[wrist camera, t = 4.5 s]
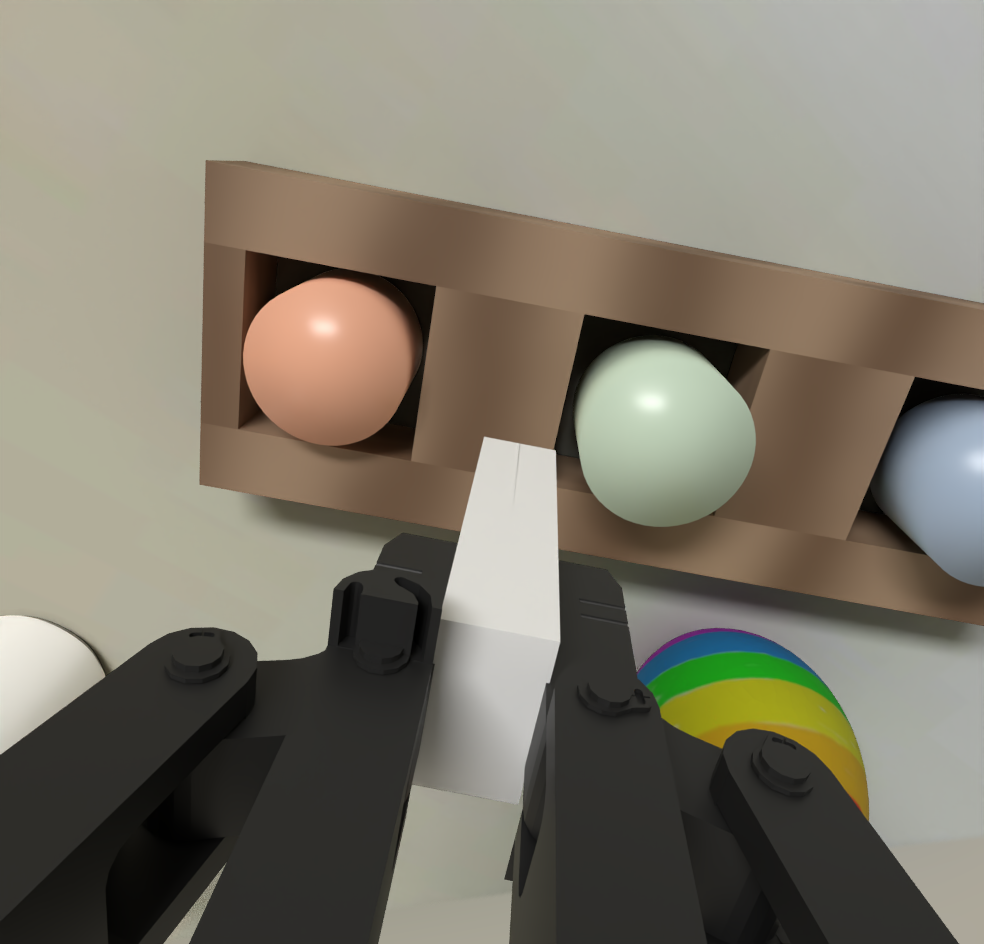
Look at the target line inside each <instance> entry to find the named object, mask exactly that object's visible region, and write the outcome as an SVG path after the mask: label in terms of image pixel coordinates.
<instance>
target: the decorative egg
mask: <svg viewBox="0 0 984 944" xmlns="http://www.w3.org/2000/svg"><path fill="white" fill-rule="evenodd" d="M637 678H638V679H639V680H640V681H641V682H642V683H643V684H644V685H645V686H646V687H647V688H648V689H649V690H650V691H651V692H652V693H653V695H654V697H655V699H656V701H657V703H658V705H659V708H660V713H661V718H663V719H664V720H666V721H667V722H668V723H670V724H671V725H672V726H674V727H676V728H678V729H680V730H682V731H684V732H685V733H687V734H689V735H692V736H694V737H696V738H699V739H701V740H703V741H706V742H708V743H710V744H713V745H715V746H717V747H720V748H723V746H724V743H725V741H726V739H727V738H729V737H730V736H731V735H732V734H734V733H735V732H736V731H740V730H746V729H753V728H754V729H760V730H766V731H772V732H775V733H778V734H780V735H783V736H785V737H787V738H790V739H792V740H795V741H796V742H798V743H799V744H801V745H802V746H804V747H805V748H807V749H808V750H810V751H811V752H813V753H814V754H815V755H816V756H817V757H818V758H819V759H820V760H821V761H822V762H823V763H824V764H825V765H826V766H827V767H828V768H829V769H830V770H831V771H832V773H833V774H834V775H835V777H836V778H837V779H838V781H839V782H840V784H841V785H842V786H843V788H844V789H845V790H846V792H847V793H848V794H849V796H850V797H851V798H852V800H853V801H854V802H855V804H856V805H857V807H858V808H859V809H860V811H861V812H862V813H863V815H864V816H865V817H866V819H867V820H868V821H869V799H868V789H867V781H866V774H865V768H864V764H863V761H862V757H861V753H860V749H859V746H858V743H857V741H856V738H855V735H854V732H853V730H852V728H851V725H850V723H849V721H848V719H847V717H846V715H845V713H844V712H843V710H842V708H841V706H840V704H839V703H838V701H837V700H836V698H835V697H834V695H833V694H832V692H831V691H830V689H829V688H828V687H827V686H826V684H825V683H824V682H823V681H822V680H821V679H820V677H819V676H818V675H817V674H816V673H815V672H814V671H813V670H812V669H811V668H810V667H809V666H808V665H807V664H805V663H804V662H803V661H802V660H801V659H800V658H798V657H797V656H796V655H794V654H793V653H792V652H790V651H789V650H787V649H785V648H784V647H782V646H780V645H779V644H777V643H775V642H773V641H771V640H769V639H767V638H764V637H762V636H760V635H756V634H753V633H750V632H746V631H742V630H735V629H725V628H711V629H702V630H697V631H693V632H689V633H686V634H684V635H681V636H679V637H677V638H675V639H673V640H671V641H669V642H668V643H666V644H665V645H663V646H662V647H661V648H659V649H658V650H657V651H656V652H655V653H654V654H653V655H651V656H650V657H649V658H648V660H647V661H646V662H645V663H644V664H643V665H642V667H641V668H640V669H639V671H638V672H637Z"/></svg>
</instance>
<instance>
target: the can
mask: <svg viewBox="0 0 984 944" xmlns="http://www.w3.org/2000/svg"><path fill="white" fill-rule="evenodd" d="M104 677H105V673H104V670H103V668H102V665H101V663H100V661H99V659H98V658H97V656H96V655H95V653H94V652H93V650H92V649H91V648H90V647H89V646H88V645H87V644H86V643H85V642H84V641H83V640H82V639H81V638H79V637H78V636H76V635H75V634H73V633H72V632H70V631H69V630H67V629H65V628H63V627H61V626H59V625H57V624H55V623H52V622H50V621H47V620H44V619H40V618H36V617H30V616H0V755H1V754H2V753H3V752H5V751H6V750H7V749H9V748H10V747H11V746H13V745H14V744H15V743H17V742H18V741H19V740H21V739H22V738H23V737H25V736H26V735H28V734H29V733H30V732H32V731H33V730H34V729H36V728H37V727H38V726H40V725H41V724H42V723H44V722H45V721H46V720H48V719H49V718H50V717H52V716H53V715H54V714H56V713H57V712H58V711H60V710H61V709H62V708H64V707H65V706H67V705H68V704H69V703H71V702H72V701H73V700H75V699H76V698H77V697H79V696H80V695H81V694H83V693H84V692H85V691H87V690H88V689H89V688H91V687H92V686H93V685H95V684H96V683H97V682H99V681H100V680H102V679H103V678H104Z"/></svg>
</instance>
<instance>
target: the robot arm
mask: <svg viewBox="0 0 984 944" xmlns="http://www.w3.org/2000/svg"><path fill="white" fill-rule="evenodd" d="M627 624H628V621H627V615H626V611H625V604H624V598H623V592H622V588H621V587H620V585H619V584H618V583H617V582H616V580H615V579H614V578H613V577H612V575H611V574H610V573H609V572H608V570H606V569H600V568H595V567H590V566H585V565H579V564H574V563H569V562H564V561H559V560H558V523H557V480H556V450H551V449H546V448H541V447H535V446H530V445H525V444H520V443H514V442H509V441H504V440H499V439H494V438H488V437H484V439H483V443H482V448H481V452H480V456H479V460H478V464H477V468H476V472H475V476H474V480H473V484H472V488H471V492H470V496H469V500H468V504H467V508H466V512H465V516H464V520H463V525H462V529H461V533H460V537H459V541H458V543H453V542H448V541H443V540H437V539H432V538H427V537H422V536H417V535H411V534H406V533H402V534H400V535H399V536H397V537H396V538H394V539H393V540H391V541H390V542H388V543H387V544H385V545H384V547H383V549H382V552H381V554H380V556H379V558H378V561H377V564H376V565H375V567H374V570H369V571H362V572H357V573H355V574H353V575H350V576H348V577H346V578H343V579H342V581H341V582H340V583H339V584H338V585H337V586H336V587H335V588H334V591H333V600H332V610H331V619H330V629H329V638H328V646H327V648H326V650H325V651H323V652H321V653H319V654H316V655H313V656H309V657H305V658H301V659H292V660H276V661H257V652H256V650H255V649H254V647H253V646H252V644H251V643H250V641H249V640H247V639H245V638H243V637H242V636H240V635H238V634H237V633H235V632H232V631H227V630H223V629H218V628H214V627H213V628H189V629H185V630H181V631H177V632H173V633H169V634H167V635H165V636H163V637H161V638H159V639H157V640H156V641H154V642H152V643H150V644H149V645H147V646H146V647H145V648H143V649H142V650H141V651H139V652H138V653H136V654H135V655H134V656H132V657H131V658H130V659H128V660H127V661H126V662H124V663H123V664H122V665H120V666H119V667H118V668H116V669H115V670H114V671H112V672H111V673H110V674H108V675H107V676H106V677H104V678H103V679H102V680H100V681H99V682H97V683H96V684H95V685H93V686H92V687H91V688H89V689H88V690H87V691H85V692H84V693H83V694H81V695H80V696H79V697H77V698H76V699H75V700H73V701H72V702H71V703H69V704H68V705H67V706H65V707H64V708H62V709H61V710H60V711H58V712H57V713H56V714H54V715H53V716H52V717H50V718H49V719H48V720H46V721H45V722H44V723H42V724H41V725H40V726H38V727H37V728H36V729H34V730H33V731H32V732H30V733H29V734H28V735H26V736H25V737H23V738H22V739H21V740H19V741H18V742H17V743H15V744H14V745H13V746H11V747H10V748H9V749H7V750H6V751H5V752H3V753H2V754H1V755H0V944H163V943H164V942H165V941H166V939H167V938H168V937H169V936H170V934H171V933H172V932H173V930H174V929H175V928H176V927H177V925H178V924H179V923H180V921H181V920H182V919H183V918H184V916H185V915H186V914H187V912H188V911H189V910H190V909H191V907H192V906H193V905H194V903H195V902H196V901H197V900H198V898H199V897H200V896H201V894H202V893H203V892H204V891H205V889H206V888H207V887H208V885H209V884H210V883H211V882H212V880H213V879H214V878H215V876H216V875H217V874H218V873H219V871H220V870H221V869H222V867H223V866H224V865H225V864H226V865H225V867H224V870H223V872H222V874H221V876H220V878H219V880H218V883H217V885H216V887H215V889H214V891H213V893H212V895H211V898H210V900H209V902H208V904H207V906H206V908H205V911H204V913H203V915H202V917H201V919H200V921H199V923H198V926H197V928H196V930H195V932H194V934H193V936H192V939H191V941H190V943H189V944H378V942H379V936H380V933H381V928H382V923H383V918H384V914H385V910H386V905H387V901H388V896H389V891H390V887H391V882H392V878H393V873H394V869H395V864H396V860H397V855H398V850H399V846H400V841H401V837H402V832H403V828H404V823H405V819H406V813H407V807H408V802H409V796H410V790H411V786H412V784H413V785H418V786H423V787H428V788H433V789H439V790H444V791H449V792H454V793H460V794H465V795H470V796H475V797H480V798H486V799H491V800H496V801H501V802H507V803H512V804H517V805H518V804H519V800H520V796H521V792H522V788H523V784H524V793H523V810H522V814H521V818H520V821H519V825H518V829H517V833H516V837H515V841H514V844H513V848H512V852H511V856H510V860H509V863H508V867H507V871H506V875H505V880H510V881H513V885H512V904H511V922H510V941H509V944H959V943H958V942H957V941H956V939H955V938H954V937H953V935H952V934H951V933H950V931H949V930H948V928H947V927H946V926H945V924H944V923H943V922H942V920H941V919H940V918H939V916H938V915H937V914H936V912H935V911H934V910H933V908H932V907H931V905H930V904H929V903H928V901H927V900H926V899H925V897H924V896H923V895H922V893H921V892H920V890H919V889H918V888H917V887H916V886H915V884H914V882H913V881H912V880H911V879H910V877H909V876H908V874H907V873H906V872H905V870H904V869H903V867H902V866H901V865H900V863H899V862H898V861H897V859H896V858H895V857H894V855H893V854H892V853H891V851H890V850H889V849H888V847H887V846H886V844H885V843H884V842H883V840H882V839H881V838H880V836H879V835H878V834H877V832H876V831H875V830H874V828H873V827H872V825H871V824H870V823H869V821H868V820H867V819H866V817H865V816H864V815H863V813H862V812H861V811H860V809H859V808H858V807H857V805H856V804H855V802H854V801H853V800H852V798H851V797H850V796H849V794H848V793H847V792H846V790H845V789H844V788H843V786H842V785H841V784H840V782H839V781H838V779H837V778H836V777H835V775H834V774H833V773H832V771H831V770H830V769H829V768H828V767H827V766H826V765H825V764H824V763H823V762H822V761H821V760H820V759H819V758H818V757H817V756H816V755H815V754H814V753H813V752H811V751H810V750H808V749H807V748H805V747H804V746H802V745H801V744H799V743H798V742H796V741H795V740H792V739H790V738H787V737H785V736H783V735H780V734H778V733H775V732H772V731H766V730H760V729H754V728H753V729H746V730H740V731H736V732H735V733H734V734H732V735H731V736H730V737H729V738H727V739H726V741H725V743H724V746H723V748H720V747H717V746H715V745H713V744H710V743H708V742H706V741H703V740H701V739H699V738H696V737H694V736H692V735H689V734H687V733H685V732H684V731H682V730H680V729H678V728H676V727H674V726H672V725H671V724H670V723H668V722H667V721H666V720H664V719H663V718H661V713H660V708H659V705H658V703H657V701H656V699H655V697H654V695H653V693H652V692H651V691H650V690H649V689H648V688H647V687H646V686H645V685H644V684H643V683H642V682H641V681H640V680H639V679H638V678H637V672H636V667H635V661H634V655H633V649H632V644H631V638H630V632H629V627H628V626H627ZM226 862H227V863H226Z"/></svg>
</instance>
